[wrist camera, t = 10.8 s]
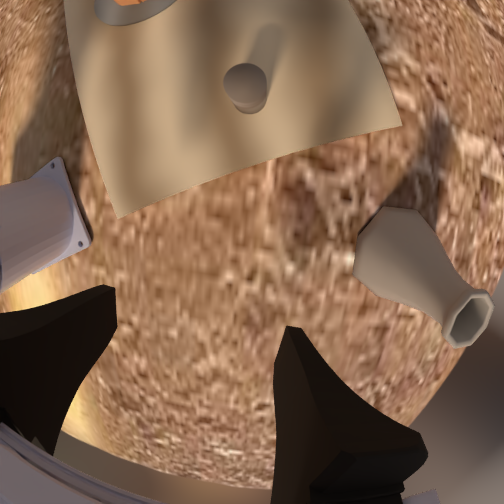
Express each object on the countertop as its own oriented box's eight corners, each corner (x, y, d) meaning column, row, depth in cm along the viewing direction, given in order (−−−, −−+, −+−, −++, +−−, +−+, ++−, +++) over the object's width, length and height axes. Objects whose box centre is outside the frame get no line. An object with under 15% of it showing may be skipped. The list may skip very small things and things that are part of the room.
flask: (375, 188, 18) (464, 222, 8) (445, 227, 18) (532, 275, 9) (335, 279, 20) (380, 371, 11) (407, 305, 21) (467, 384, 11)
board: (127, 214, 19) (86, 235, 14) (72, 3, 13) (38, -16, 7) (393, 127, 16) (434, 120, 11) (281, -77, 10) (283, -113, 4)
